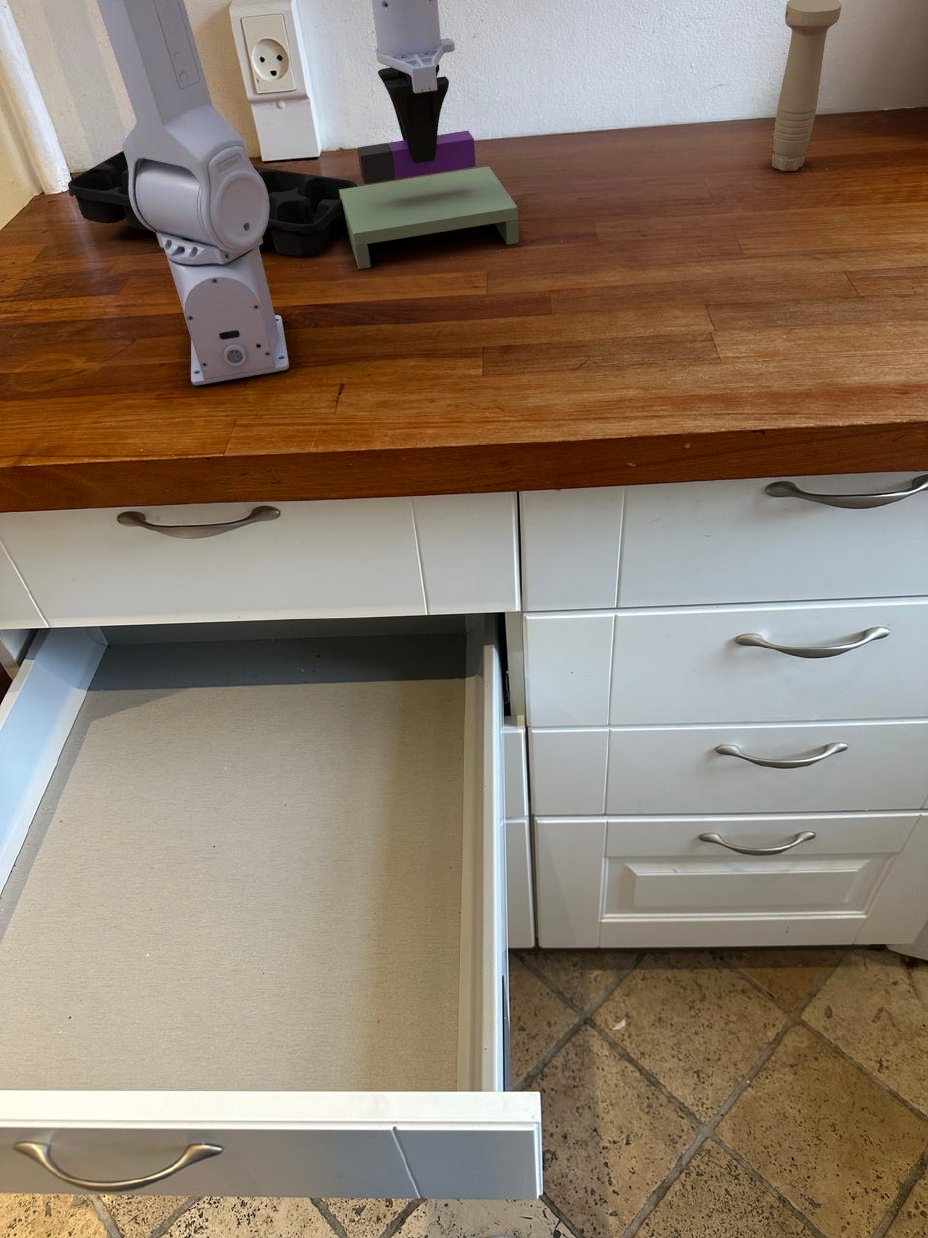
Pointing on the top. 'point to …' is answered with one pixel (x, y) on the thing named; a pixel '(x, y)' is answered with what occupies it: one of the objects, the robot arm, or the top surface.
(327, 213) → the egg carton
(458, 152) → the marker
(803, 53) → the handle
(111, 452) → the top surface
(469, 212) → the shelf
